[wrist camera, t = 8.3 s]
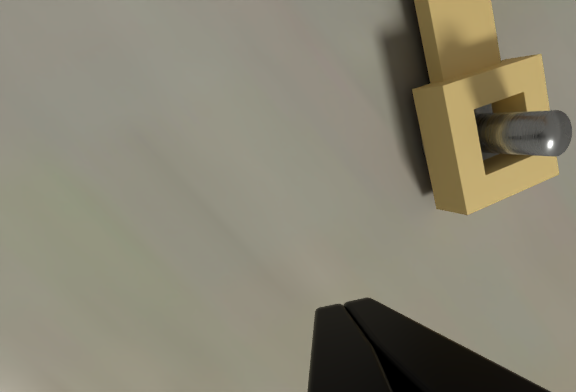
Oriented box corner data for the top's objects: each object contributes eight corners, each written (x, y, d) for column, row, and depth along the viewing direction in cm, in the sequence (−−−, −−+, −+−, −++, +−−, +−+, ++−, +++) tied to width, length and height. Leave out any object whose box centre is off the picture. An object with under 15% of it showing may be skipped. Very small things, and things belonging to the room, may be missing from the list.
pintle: (406, 161, 22) (490, 168, 18) (444, 62, 22) (536, 46, 18) (481, 198, 24) (573, 213, 20) (515, 106, 24) (613, 102, 20)
